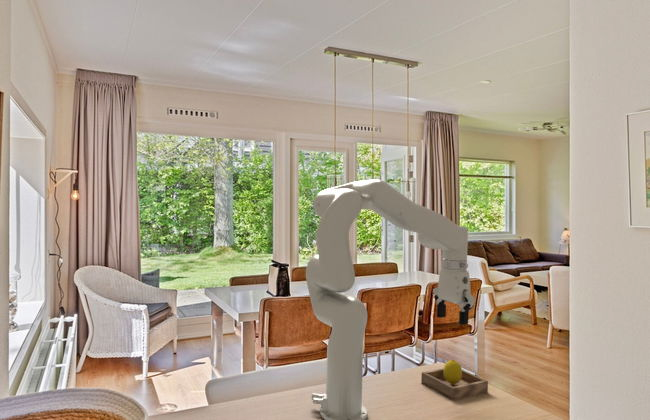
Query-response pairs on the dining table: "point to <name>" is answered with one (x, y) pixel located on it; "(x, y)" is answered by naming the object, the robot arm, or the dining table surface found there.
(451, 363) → the lemon
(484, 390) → the bin
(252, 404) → the dining table surface
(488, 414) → the dining table surface
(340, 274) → the robot arm
